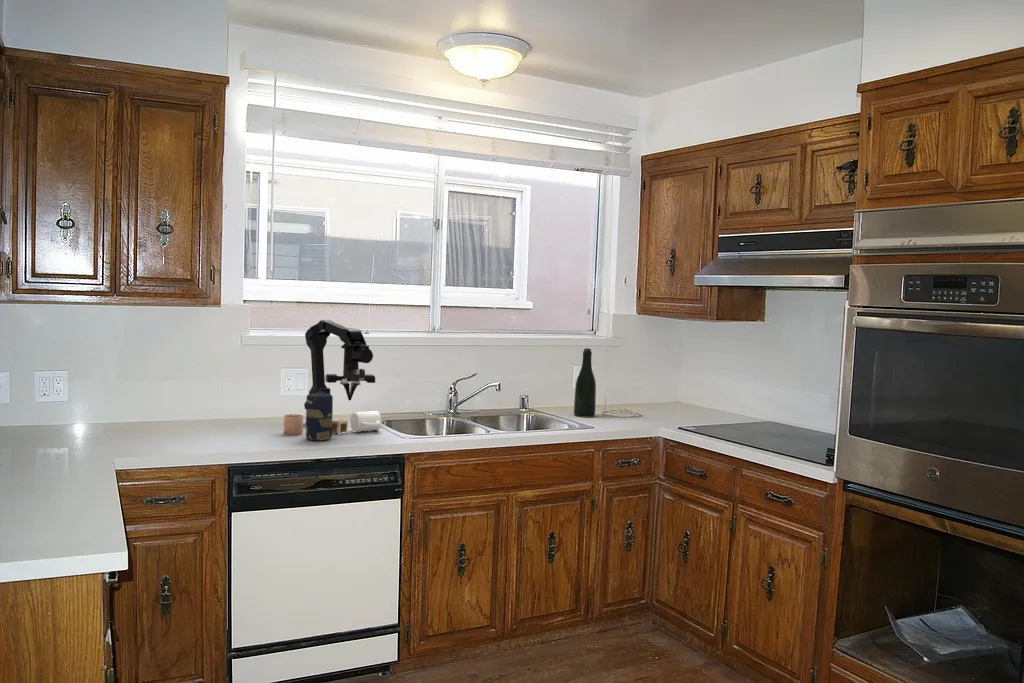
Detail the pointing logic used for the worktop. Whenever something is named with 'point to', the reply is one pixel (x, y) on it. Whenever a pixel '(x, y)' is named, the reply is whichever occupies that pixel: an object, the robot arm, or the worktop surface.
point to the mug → (365, 421)
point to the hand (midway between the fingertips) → (349, 400)
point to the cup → (293, 424)
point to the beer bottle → (585, 388)
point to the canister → (319, 416)
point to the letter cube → (339, 426)
